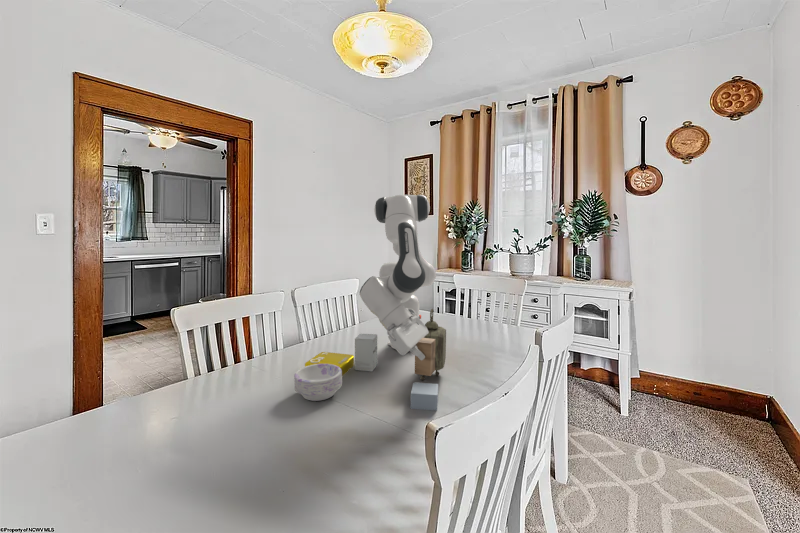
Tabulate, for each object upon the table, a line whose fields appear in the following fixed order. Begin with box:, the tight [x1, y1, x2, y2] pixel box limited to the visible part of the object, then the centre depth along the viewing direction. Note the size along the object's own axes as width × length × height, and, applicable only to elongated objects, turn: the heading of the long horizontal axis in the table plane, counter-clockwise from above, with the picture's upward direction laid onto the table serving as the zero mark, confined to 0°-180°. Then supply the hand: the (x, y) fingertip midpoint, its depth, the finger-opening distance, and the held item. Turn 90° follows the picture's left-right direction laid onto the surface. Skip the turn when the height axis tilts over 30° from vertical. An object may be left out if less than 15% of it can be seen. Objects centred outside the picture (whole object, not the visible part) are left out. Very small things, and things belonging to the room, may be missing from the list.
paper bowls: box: [293, 364, 343, 402], centre depth 121 cm, size 15×15×8 cm
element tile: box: [304, 351, 355, 377], centre depth 143 cm, size 15×15×5 cm
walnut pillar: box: [414, 338, 436, 377], centre depth 114 cm, size 5×5×10 cm
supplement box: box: [354, 333, 378, 372], centre depth 144 cm, size 7×7×13 cm
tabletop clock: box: [420, 308, 447, 381], centre depth 136 cm, size 14×9×25 cm, turn 168°
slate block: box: [410, 382, 439, 411], centre depth 115 cm, size 8×8×5 cm
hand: (427, 355), depth 114 cm, fingers closed on walnut pillar, 5 cm apart
